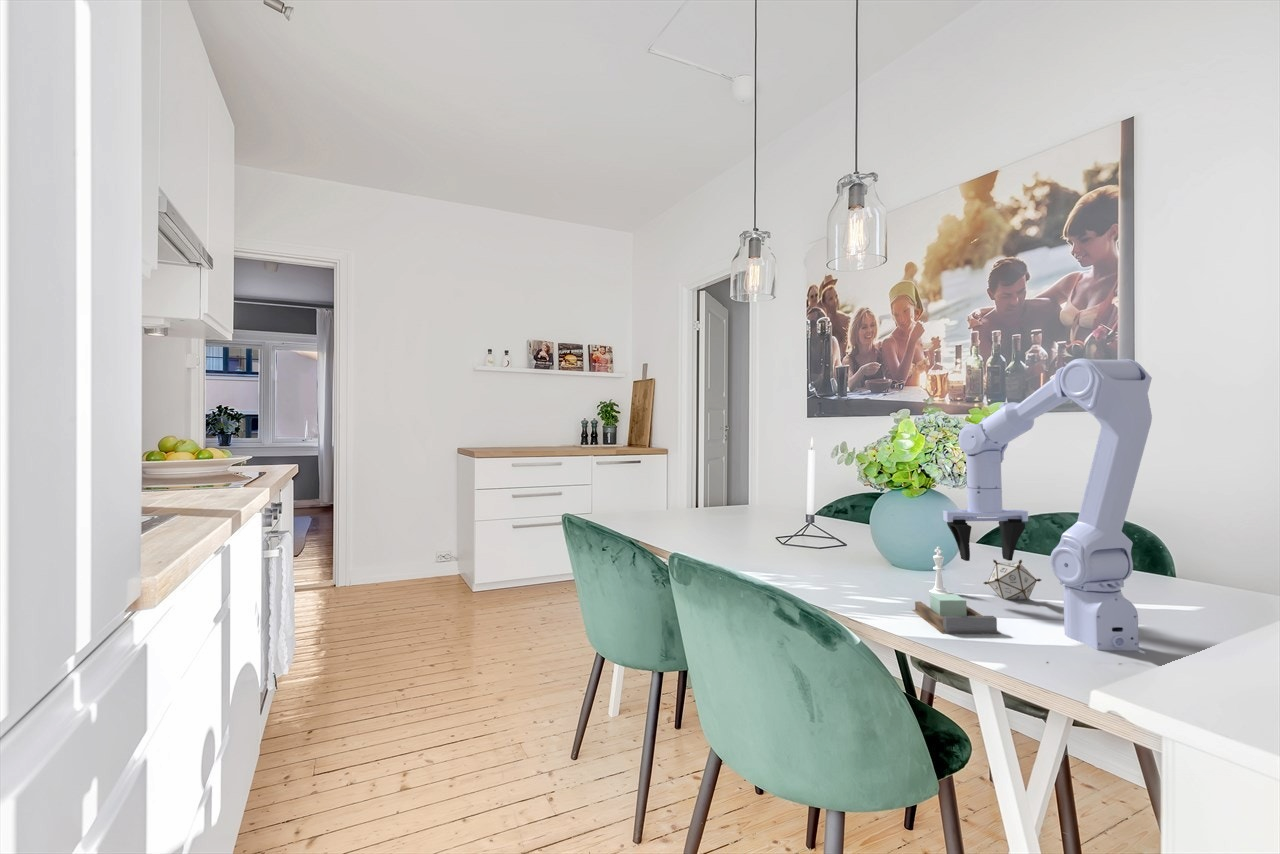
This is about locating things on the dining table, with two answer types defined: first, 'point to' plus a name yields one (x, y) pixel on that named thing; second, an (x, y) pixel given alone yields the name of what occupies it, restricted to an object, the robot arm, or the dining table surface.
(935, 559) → the chess piece
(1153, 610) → the dining table surface
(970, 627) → the chute
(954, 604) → the block
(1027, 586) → the game die
